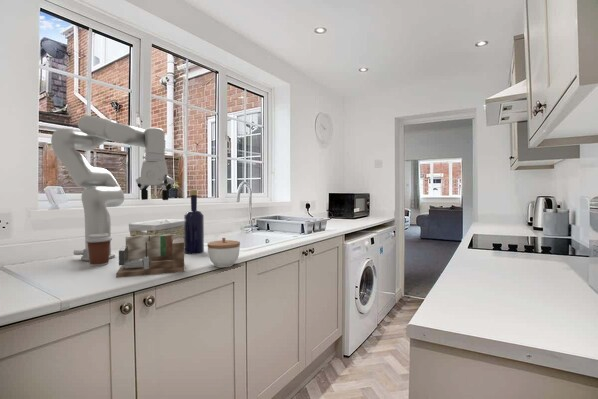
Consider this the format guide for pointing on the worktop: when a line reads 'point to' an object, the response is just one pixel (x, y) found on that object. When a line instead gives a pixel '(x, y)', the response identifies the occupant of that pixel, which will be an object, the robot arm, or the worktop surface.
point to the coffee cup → (98, 249)
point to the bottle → (194, 228)
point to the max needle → (146, 260)
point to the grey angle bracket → (129, 262)
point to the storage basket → (158, 228)
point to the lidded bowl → (223, 252)
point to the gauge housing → (155, 254)
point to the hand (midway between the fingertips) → (154, 199)
